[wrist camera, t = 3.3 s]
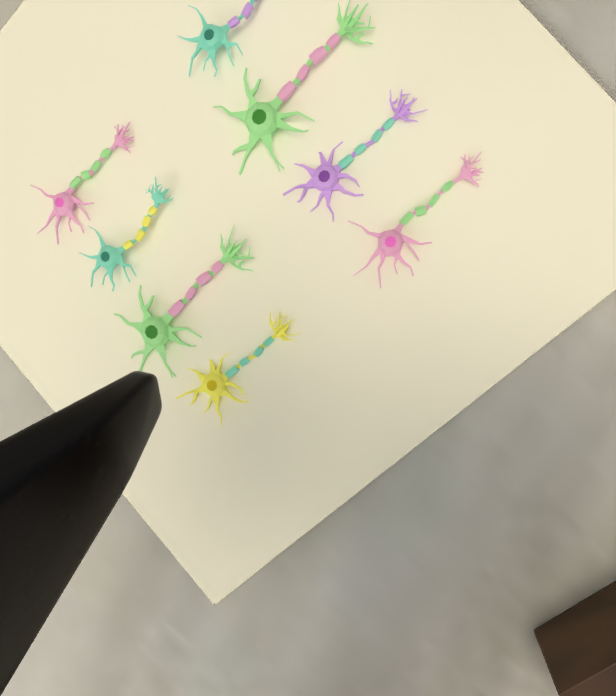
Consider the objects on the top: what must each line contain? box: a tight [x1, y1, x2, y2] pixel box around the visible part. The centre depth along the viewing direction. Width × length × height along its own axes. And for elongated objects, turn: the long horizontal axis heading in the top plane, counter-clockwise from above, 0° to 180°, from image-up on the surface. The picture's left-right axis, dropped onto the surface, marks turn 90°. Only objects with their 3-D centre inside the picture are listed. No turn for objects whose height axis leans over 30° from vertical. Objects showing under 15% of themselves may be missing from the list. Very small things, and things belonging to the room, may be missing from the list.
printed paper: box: [0, 0, 616, 605], centre depth 24 cm, size 30×30×2 cm
